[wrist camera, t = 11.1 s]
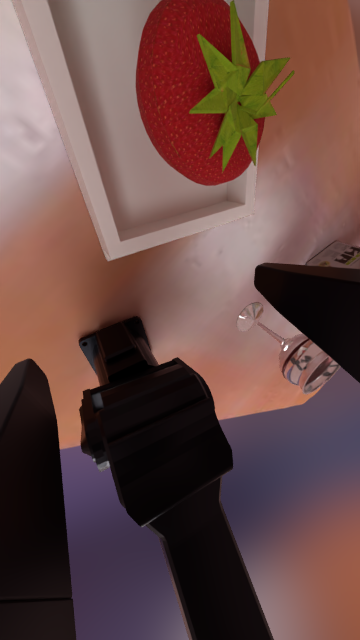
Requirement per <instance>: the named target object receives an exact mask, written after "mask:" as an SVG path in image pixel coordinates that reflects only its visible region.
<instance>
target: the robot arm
mask: <svg viewBox="0 0 360 640" xmlns="http://www.w3.org/2000/svg"><path fill="white" fill-rule="evenodd" d="M254 285H255V288H256V289H257V290H258V291H259V292H260V293H261V294H262V295H263V296H264V297H265V299H266V300H267V301H268V302H269V303H270V304H271V305H272V306H273V307H274V308H275V309H276V310H277V311H278V312H279V313H280V314H281V315H282V316H283V317H285V318H286V319H287V320H288V321H289V322H290V323H291V324H293V325H294V326H295V327H296V328H297V329H298V330H300V331H301V332H302V333H303V334H304V335H305V336H306V337H308V338H309V339H310V340H311V341H312V342H313V343H314V344H316V345H317V346H318V347H319V348H320V349H321V350H322V351H324V352H325V353H326V354H327V355H328V356H329V357H330V358H332V359H333V360H334V361H335V362H336V363H337V364H339V365H340V366H341V367H342V368H343V369H344V370H345V371H347V372H348V373H349V374H350V375H351V376H352V377H353V378H355V379H356V380H357V381H358V382H359V383H360V269H355V268H340V267H324V266H309V265H294V264H278V263H263V264H260V265H258V266H257V267H256V269H255V277H254ZM136 320H138V322H135V321H136ZM83 342H86V343H85V344H82V343H83ZM79 346H80V348H81V349H82V351H83V353H84V354H85V356H86V358H87V359H88V361H89V363H90V365H91V366H92V368H93V370H94V371H95V373H96V375H97V376H98V380H99V383H100V386H99V387H96V388H94V389H91V390H90V389H87V390H84V391H83V398H84V399H82V406H81V407H80V409H79V411H80V416H81V423H82V431H81V449H82V452H83V453H85V454H88V455H90V456H92V459H93V461H94V462H96V463H97V466H98V469H99V471H100V472H101V471H104V470H105V469H107V468H109V467H110V468H111V472H112V476H113V479H114V482H115V486H116V490H117V494H118V497H119V500H120V503H121V504H122V506H123V507H124V508H126V511H127V513H128V515H129V516H130V517H131V518H132V519H133V520H134V521H135V522H136V523H137V524H138V525H139V526H141V527H143V526H145V525H146V526H147V527H148V528H149V529H150V530H152V531H153V532H154V533H155V534H156V535H157V536H158V537H159V541H160V544H161V547H162V550H163V554H164V557H165V560H166V564H167V567H168V570H169V574H170V577H171V581H172V584H173V587H174V591H175V594H176V597H177V601H178V604H179V607H180V611H181V614H182V617H183V621H184V624H185V627H186V631H187V634H188V637H189V640H274V639H273V636H272V634H271V631H270V628H269V626H268V623H267V621H266V618H265V615H264V613H263V610H262V608H261V605H260V603H259V600H258V597H257V595H256V592H255V590H254V587H253V584H252V582H251V579H250V577H249V574H248V571H247V569H246V566H245V564H244V561H243V558H242V556H241V553H240V551H239V548H238V546H237V543H236V540H235V538H234V535H233V533H232V530H231V527H230V525H229V522H228V520H227V517H226V514H225V512H224V509H223V506H222V503H221V501H220V495H221V484H222V476H223V475H224V474H226V473H227V472H229V471H230V470H232V469H233V458H232V449H231V447H230V445H229V443H228V441H227V439H226V437H225V435H224V433H223V431H222V429H221V427H220V424H219V422H218V419H217V416H216V413H215V406H214V401H213V397H212V394H211V391H210V389H209V387H208V385H207V384H206V382H205V381H204V379H203V378H202V377H201V376H200V375H199V374H198V373H197V372H195V371H194V370H193V369H192V368H190V367H189V366H188V365H187V364H185V363H184V362H183V361H182V360H180V359H179V358H178V357H177V358H174V359H172V361H169V362H166V363H163V364H161V365H159V364H158V362H157V361H156V359H155V357H154V356H153V354H152V352H151V349H150V346H149V343H148V340H147V336H146V333H145V330H144V327H143V324H142V320H141V319H140V317H138V316H136V317H133V318H130V319H128V320H125V321H123V322H120V323H117V324H115V325H112V326H110V327H107V328H105V329H102V330H100V331H98V332H96V333H93V334H91V335H88V336H86V337H84V338H81V339H80V340H79ZM71 597H72V587H71V575H70V564H69V553H68V542H67V529H66V519H65V506H64V495H63V484H62V473H61V461H60V448H59V437H58V426H57V419H56V414H55V409H54V405H53V401H52V396H51V392H50V388H49V383H48V379H47V377H46V375H45V374H44V372H43V371H42V370H41V369H40V368H39V366H38V365H37V364H36V363H35V362H34V360H32V359H26V360H24V361H21V362H19V363H16V364H15V365H14V367H13V368H12V369H11V371H10V372H9V373H8V375H7V376H6V377H5V378H4V380H3V381H2V382H1V384H0V640H76V631H75V621H74V620H75V619H74V608H73V599H72V598H71Z"/></svg>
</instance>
